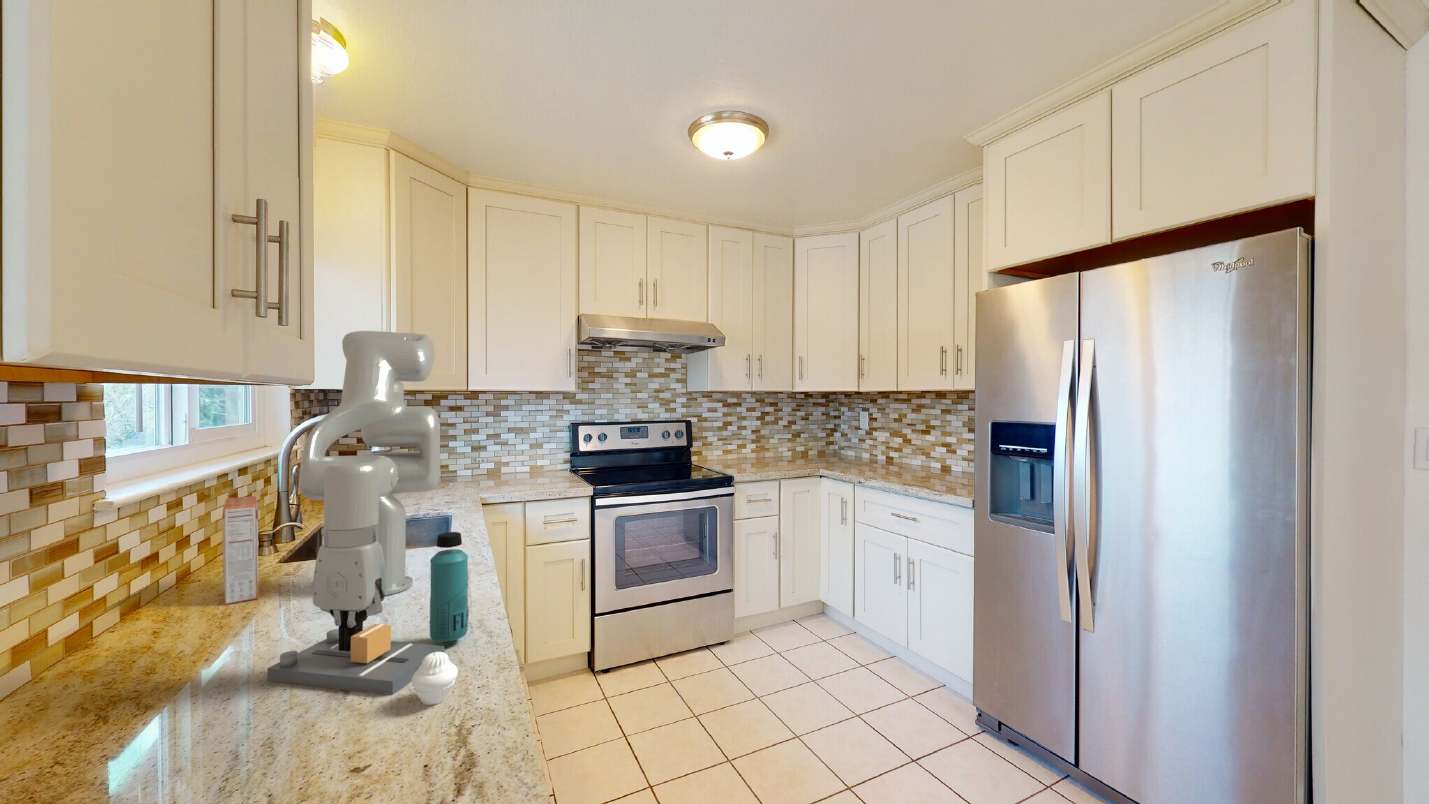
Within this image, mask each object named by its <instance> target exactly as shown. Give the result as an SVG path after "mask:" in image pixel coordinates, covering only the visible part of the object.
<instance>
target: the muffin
mask: <svg viewBox="0 0 1429 804" xmlns="http://www.w3.org/2000/svg"><path fill="white" fill-rule="evenodd" d="M458 675H459V671H458V667H457V666H456V664H454V663H452V662H451V661H450V659H449V656H448V654H447V653H445V651H444V652H435V653H434V652H433V653H430V654H429V655H427V656H426V657H425V658H424V659H423V660H422V665H421V666H420V667H419V669H418V670H417V671H416V672H415V673H414V675H413V677H412V680H411V682H410V683H411V686H412V687H413V690H414V692H415V694H416V695H417V697H418V698H419V700H420V701H421V703H422V704H423V705H426V706H435V705H439V704H441V703H442V702H444V701H445V700H446V699H448V697H449V694H450V693H451V691H452V689H453V687H454V684H455V683H456V679H457V677H458Z"/></svg>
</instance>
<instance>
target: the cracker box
mask: <svg viewBox="0 0 1429 804" xmlns="http://www.w3.org/2000/svg"><path fill="white" fill-rule="evenodd" d="M257 497H258V496H257V495H254V496H241V497H230V498H225V502H224V505H223V506H224V507H223V512H222V514H223V515H222V560H223V561H222V565H223V566H222V567H223V568H222V569H223V571H222V572H223V601H224V602H223V603H224V605H231V604H236V603H242V602H248V601H253V600H258V599H259V509H258V508H259V507H258V499H257Z"/></svg>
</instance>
